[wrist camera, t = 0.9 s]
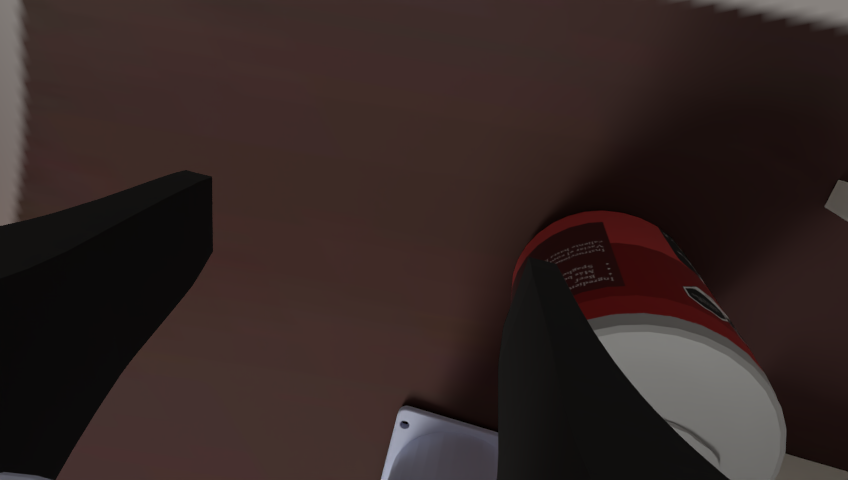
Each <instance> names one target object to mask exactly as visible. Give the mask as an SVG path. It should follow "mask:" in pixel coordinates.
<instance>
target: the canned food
mask: <svg viewBox="0 0 848 480" xmlns="http://www.w3.org/2000/svg"><path fill="white" fill-rule="evenodd" d="M529 257H531V258H535V259H539V260H543V261H547V262H551V263H555V264H557V266H558V268H559V270H560V272H561V274H562V275H563V277H564V279H565V281H566V283H567V285H568V287H569V289H570V291H571V292H572V294H573V296H574V298H575V300H576V302H577V303H578V305H579V307H580V309H581V311H582V312H583V314H584V316H585V317H586V319H587V321H588V322H589V324H590V326H591V327H592V329H593V331H594V332H595V334H596V335H597V337H598V338H599V340H600V341H601V343H602V344H603V346H604V347H605V349H606V350H607V352H608V353H609V354H610V356H611V357H612V359H613V360H614V362H615V363H616V364H617V366H618V367H619V368H620V369H621V371H622V372H623V373H624V375H625V376H626V377H627V378H628V379H629V381H630V382H631V383H632V384H633V385H634V387H635V388H636V389H637V390H638V392H639V393H640V394H641V395H642V396H643V397H644V399H645V400H646V401H647V402H648V403H649V404H650V405H651V406H652V407H653V409H654V410H655V411H656V412H657V413H658V414H659V415H660V416H661V417H662V418H663V419H664V420H665V421H666V422H667V423H668V424H669V425H670V426H671V427H672V428H673V429H674V430H675V431H676V432H677V433H678V434H679V435H680V436H681V437H682V438H683V439H684V440H685V441H686V442H687V443H689V444H690V445H691V446H692V447H693V448H694V449H695V450H696V451H697V452H698V453H700V454H701V455H702V456H703V457H704V458H705V459H706V460H708V461H709V462H710V463H711V464H712V465H713V466H714V467H716V468H717V469H718V470H719V471H720V472H721V473H723V474H724V475H725V476H726V477H727V478H729V479H730V480H775V478H776V476H777V475H778V473H779V471H780V468H781V465H782V461H783V458H784V455H785V452H786V431H787V430H786V425H785V421H784V416H783V412H782V408H781V406H780V404H779V402H778V400H777V397H776V394H775V392H774V390H773V388H772V386H771V384H770V382H769V380H768V378H767V376H766V375H765V373H764V371H763V370H762V368H761V367H760V365H759V364H758V362H757V361H756V359H755V358H754V356H753V354H752V352H751V351H750V349H749V348H748V346H747V345H746V343H745V342H744V340H743V339H742V337H741V336H740V334H739V333H738V332H737V330H736V329H735V327H734V326H733V324H732V323H731V321H730V320H729V318H728V317H727V315H726V314H725V312H724V311H723V310H722V308H721V307H720V305H719V304H718V302H717V301H716V299H715V298H714V296H713V295H712V293H711V292H710V290H709V289H708V288H707V286H706V285H705V283H704V282H703V280H702V279H701V277H700V276H699V274H698V273H697V271H696V270H695V268H694V267H693V266H692V264H691V263H690V261H689V260H688V258H687V257H686V255H685V254H684V252H683V251H682V250H681V248H680V247H679V246H678V245H677V244H676V243H675V241H674V240H673V239H672V238H671V237H670V236H669V235H667V234H666V233H665V232H664V231H662V230H661V229H660V228H658V227H657V226H655V225H653V224H651V223H649V222H647V221H645V220H643V219H641V218H639V217H635V216H632V215H628V214H625V213H621V212H612V211H603V210H600V211H585V212H581V213H577V214H573V215H569V216H566V217H564V218H562V219H560V220H558V221H555V222H553V223H552V224H551V225H549V226H548V227H546V228H545V229H543V230H542V231H541V232H539V233H538V234H537V235H536V236H535V237H534V238H533V239H532V240H531V241H530V242H529V243H528V244H527V245H526V247H525V248H524V250H523V252H522V253H521V255H520V257H519V258H518V261H517V264H516V267H515V270H514V273H513V281H512V292H511V304H512V301H513V299H514V296H515V293H516V290H517V288H518V285H519V282H520V279H521V277H522V274H523V271H524V269H525V266H526V263H527V260H528V258H529ZM510 307H511V305H510Z"/></svg>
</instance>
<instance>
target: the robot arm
mask: <svg viewBox="0 0 848 480" xmlns="http://www.w3.org/2000/svg"><path fill="white" fill-rule="evenodd" d="M212 252H213V228H212V177H211V176H207V175H203V174H199V173H195V172H191V171H187V170H185V171H181V172H177V173H173V174H170V175H167V176H164V177H161V178H158V179H155V180H152V181H149V182H147V183H144V184H141V185H138V186H135V187H132V188H130V189H127V190H124V191H121V192H118V193H115V194H112V195H109V196H107V197H104V198H101V199H98V200H95V201H91V202H88V203H85V204H82V205H78V206H75V207H72V208H69V209H65V210H62V211H59V212H56V213H52V214H49V215H45V216H41V217H37V218H33V219H29V220H25V221H21V222H17V223H12V224H8V225H3V226H0V480H56V478H57V476H58V474H59V473H60V471H61V469H62V467H63V466H64V464H65V462H66V460H67V459H68V457H69V455H70V453H71V452H72V450H73V448H74V447H75V445H76V444H77V442H78V440H79V439H80V437H81V435H82V434H83V432H84V431H85V429H86V427H87V426H88V424H89V422H90V421H91V419H92V418H93V416H94V414H95V413H96V411H97V409H98V408H99V406H100V405H101V403H102V402H103V400H104V399H105V397H106V396H107V394H108V393H109V391H110V390H111V388H112V387H113V385H114V384H115V382H116V381H117V379H118V377H119V376H120V375H121V373H122V372H123V370H124V369H125V368H126V366H127V365H128V364H129V363H130V361H131V360H132V359H133V357H134V356H135V355H136V354H137V352H138V351H139V350H140V349H141V348H142V346H143V345H144V344H145V343H146V342H147V340H148V339H149V338H150V337H151V336H152V334H153V333H154V332H155V331H156V330H157V328H158V327H159V326H160V325H161V324H162V322H163V321H164V320H165V319H166V317H167V316H168V315H169V314H170V313H171V311H172V310H173V309H174V308H175V307H176V305H177V304H178V303H179V302H180V300H181V299H182V298H183V297H184V296H185V294H186V293H187V292H188V290H189V289H190V288H191V287H192V285H193V284H194V282H195V281H196V279H197V277H198V276H199V274H200V272H201V271H202V269H203V267H204V266H205V264H206V262H207V260H208V259H209V257H210V255H211V254H212ZM402 421H406V422H408V423H409V424H404V423H402ZM381 480H730V479H729V478H727V477H726V476H725V475H724V474H723V473H721V472H720V471H719V470H718V469H717V468H716V467H714V466H713V465H712V464H711V463H710V462H709V461H708V460H706V459H705V458H704V457H703V456H702V455H701V454H700V453H698V452H697V451H696V450H695V449H694V448H693V447H692V446H691V445H690V444H689V443H687V442H686V441H685V440H684V439H683V438H682V437H681V436H680V435H679V434H678V433H677V432H676V431H675V430H674V429H673V428H672V427H671V426H670V425H669V424H668V423H667V422H666V421H665V420H664V419H663V418H662V417H661V416H660V415H659V414H658V413H657V412H656V411H655V410H654V409H653V407H652V406H651V405H650V404H649V403H648V402H647V401H646V400H645V399H644V397H643V396H642V395H641V394H640V393H639V392H638V390H637V389H636V388H635V387H634V385H633V384H632V383H631V382H630V381H629V379H628V378H627V377H626V376H625V375H624V373H623V372H622V371H621V369H620V368H619V367H618V366H617V364H616V363H615V362H614V360H613V359H612V357H611V356H610V354H609V353H608V352H607V350H606V349H605V347H604V346H603V344H602V343H601V341H600V340H599V338H598V337H597V335H596V334H595V332H594V331H593V329H592V327H591V326H590V324H589V322H588V321H587V319H586V317H585V316H584V314H583V312H582V311H581V309H580V307H579V305H578V303H577V302H576V300H575V298H574V296H573V294H572V292H571V291H570V289H569V287H568V285H567V283H566V281H565V279H564V277H563V275H562V274H561V272H560V270H559V268H558V266H557V264H555V263H551V262H547V261H543V260H539V259H535V258H531V257H529V258H528V260H527V263H526V266H525V269H524V271H523V274H522V277H521V279H520V282H519V285H518V288H517V290H516V293H515V296H514V299H513V301H512V304H511V307H510V310H509V312H508V315H507V318H506V321H505V323H504V326H503V334H502V341H501V348H500V356H499V364H498V432H495V431H492V430H488V429H485V428H482V427H478V426H475V425H471V424H468V423H465V422H461V421H458V420H455V419H451V418H448V417H445V416H441V415H438V414H435V413H431V412H428V411H425V410H421V409H418V408H414V407H411V406H403V407H401V408H400V409H399V412H398V415H397V419H396V422H395V426H394V430H393V434H392V438H391V442H390V446H389V450H388V454H387V458H386V461H385V465H384V469H383V473H382V477H381Z"/></svg>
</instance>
